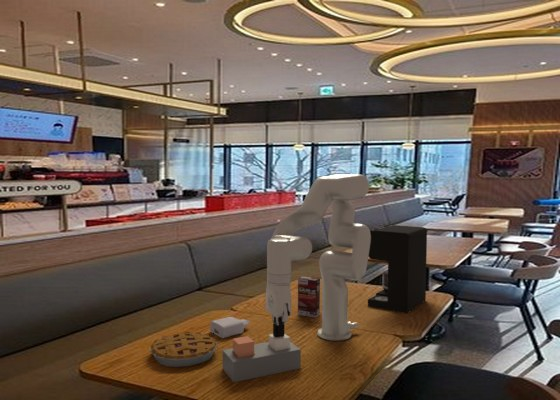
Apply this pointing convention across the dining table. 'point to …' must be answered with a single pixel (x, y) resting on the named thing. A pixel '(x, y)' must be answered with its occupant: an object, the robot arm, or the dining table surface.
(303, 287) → the supplement box
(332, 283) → the robot arm
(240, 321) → the charger
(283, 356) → the button box
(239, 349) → the terracotta plunger
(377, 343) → the dining table surface
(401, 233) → the coffee maker
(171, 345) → the pie
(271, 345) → the beige plunger
